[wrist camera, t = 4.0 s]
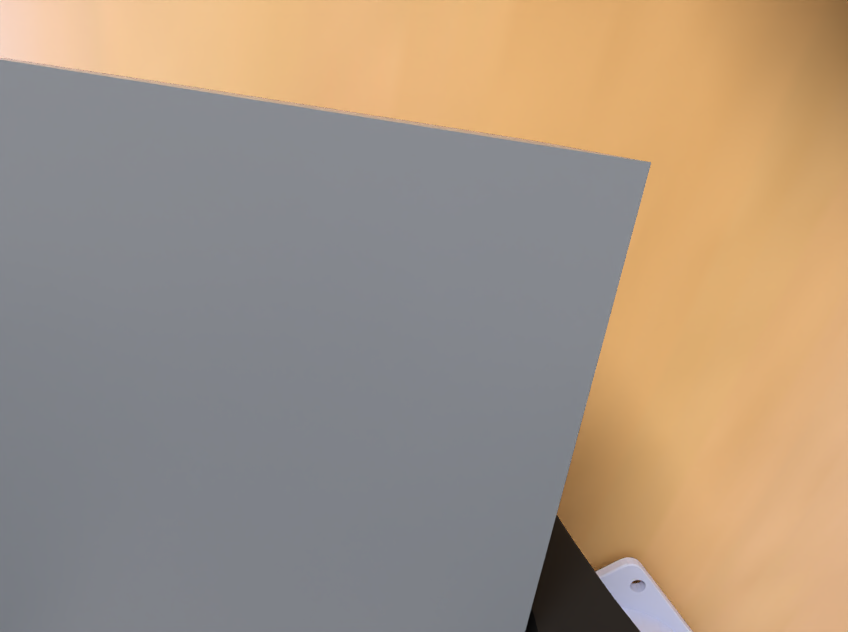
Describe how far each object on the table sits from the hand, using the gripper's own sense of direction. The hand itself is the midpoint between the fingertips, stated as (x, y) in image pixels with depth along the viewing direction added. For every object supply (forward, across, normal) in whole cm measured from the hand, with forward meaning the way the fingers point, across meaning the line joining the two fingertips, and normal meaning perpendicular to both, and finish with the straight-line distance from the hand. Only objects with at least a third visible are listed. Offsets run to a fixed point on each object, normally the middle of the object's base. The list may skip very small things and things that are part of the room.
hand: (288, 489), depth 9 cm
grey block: (+2, 0, 0) cm, 2 cm away
